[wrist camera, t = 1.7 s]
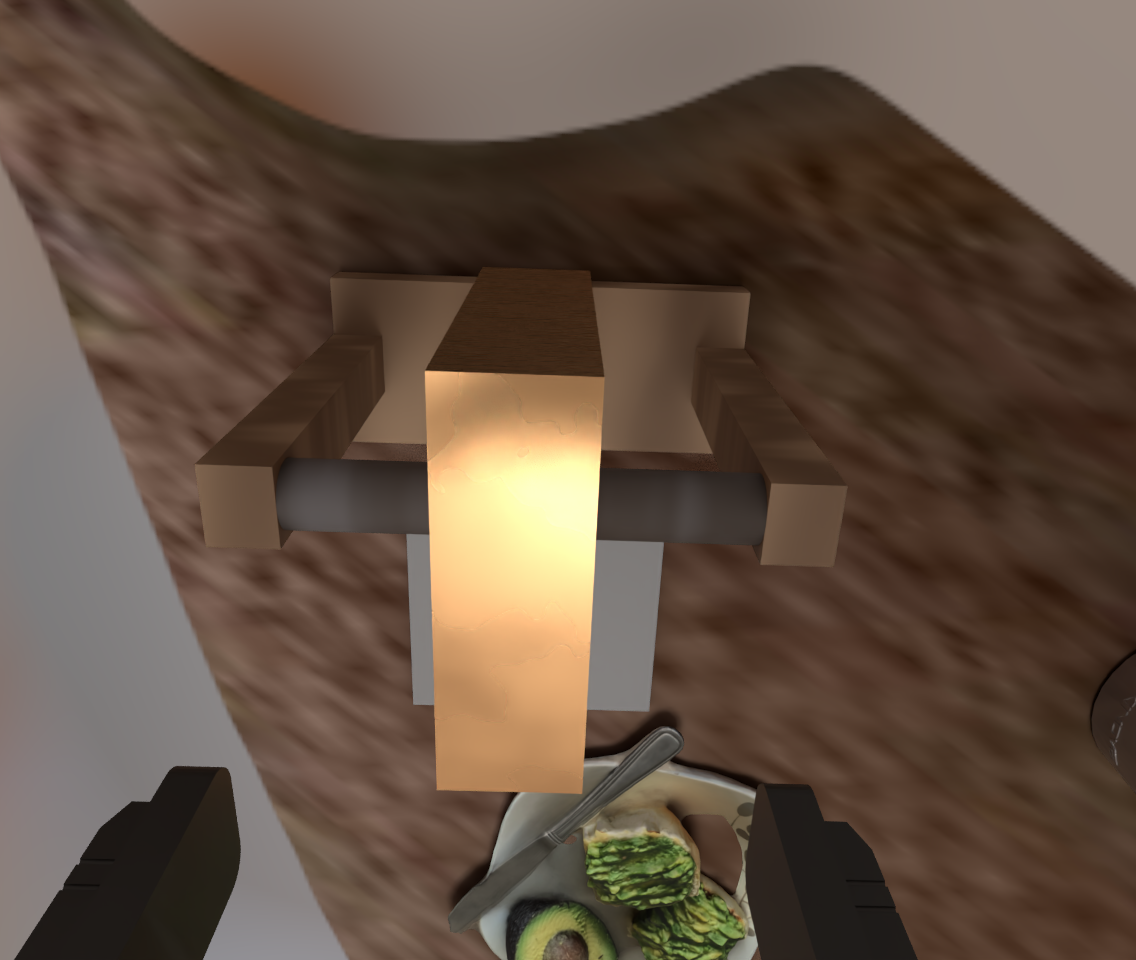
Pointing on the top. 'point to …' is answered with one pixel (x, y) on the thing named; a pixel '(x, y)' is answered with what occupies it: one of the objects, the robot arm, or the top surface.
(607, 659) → the mat
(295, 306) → the top surface
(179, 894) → the robot arm
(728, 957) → the salad plate
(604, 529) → the stand
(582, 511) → the link
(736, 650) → the top surface
